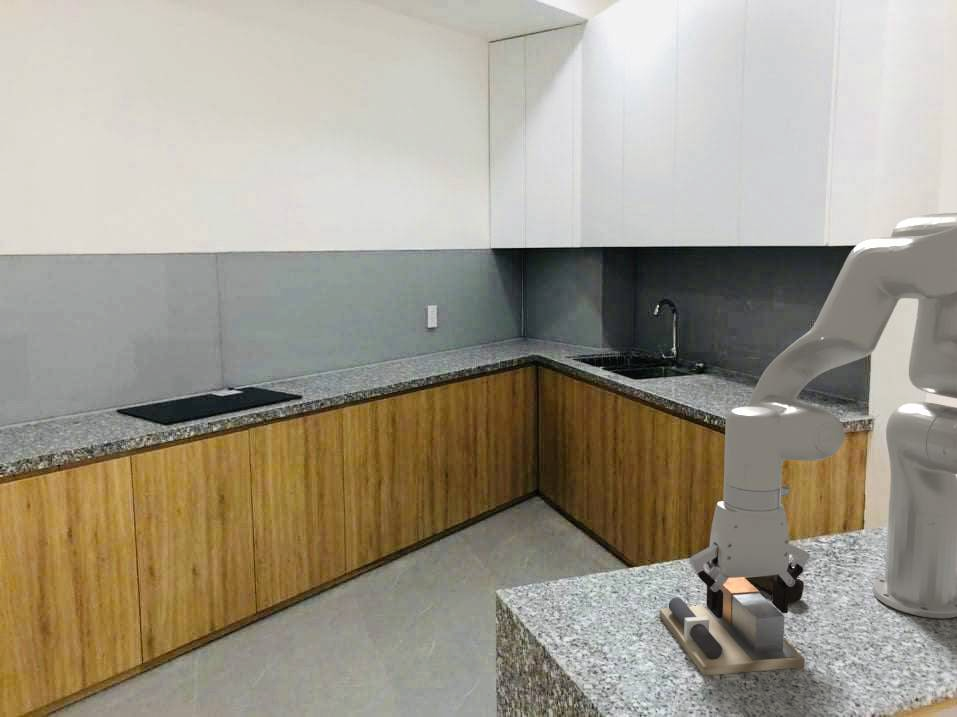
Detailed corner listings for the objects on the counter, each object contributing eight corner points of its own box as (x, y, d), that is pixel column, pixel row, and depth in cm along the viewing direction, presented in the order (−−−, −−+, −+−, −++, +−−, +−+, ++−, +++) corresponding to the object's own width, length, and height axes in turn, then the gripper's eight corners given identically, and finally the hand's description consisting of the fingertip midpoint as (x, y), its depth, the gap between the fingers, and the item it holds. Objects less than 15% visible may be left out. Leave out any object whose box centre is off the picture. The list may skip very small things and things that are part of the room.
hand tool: (805, 601, 113) (806, 574, 113) (787, 607, 112) (788, 579, 111) (717, 558, 130) (718, 534, 130) (701, 563, 129) (701, 538, 128)
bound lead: (686, 614, 108) (686, 593, 107) (724, 662, 95) (725, 638, 95) (665, 616, 108) (666, 595, 107) (701, 663, 95) (702, 640, 94)
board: (746, 609, 111) (746, 601, 110) (804, 667, 95) (804, 657, 95) (659, 616, 109) (659, 608, 109) (703, 675, 93) (703, 666, 93)
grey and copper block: (741, 608, 108) (742, 576, 108) (783, 650, 96) (785, 614, 96) (715, 610, 108) (716, 578, 107) (754, 653, 96) (755, 617, 95)
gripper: (795, 484, 104) (790, 595, 106) (681, 490, 102) (679, 603, 105) (825, 501, 97) (820, 620, 99) (703, 508, 95) (700, 629, 97)
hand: (747, 611), depth 102 cm, fingers open, 9 cm apart
